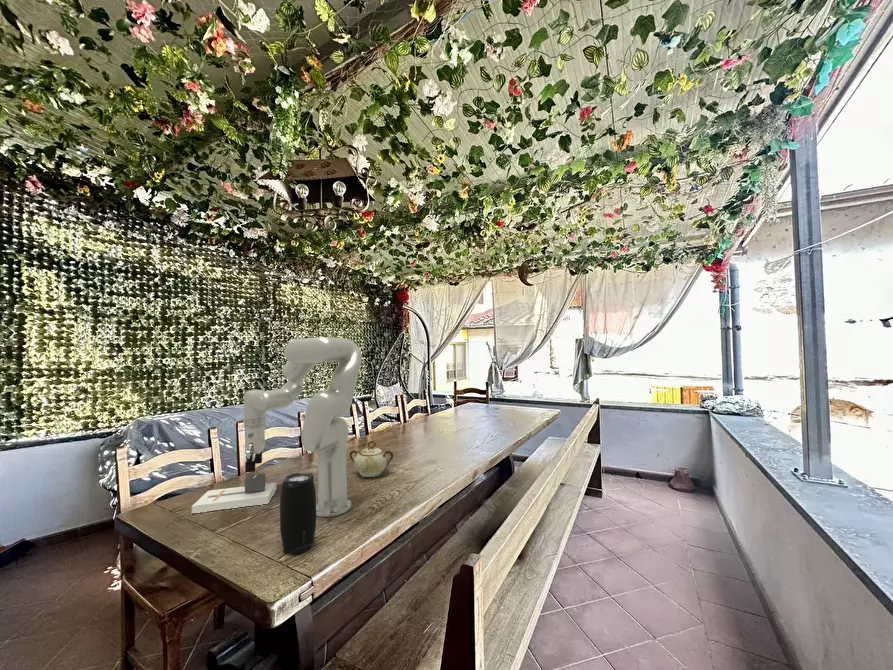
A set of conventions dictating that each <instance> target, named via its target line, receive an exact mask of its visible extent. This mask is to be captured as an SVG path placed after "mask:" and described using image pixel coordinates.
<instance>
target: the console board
mask: <svg viewBox="0 0 893 670" xmlns="http://www.w3.org/2000/svg"><path fill="white" fill-rule="evenodd" d="M275 491H277V482H269V483H268V482H267V483H265V488H264V489H263V491H256V492H248V493H245V485H244V486H238V487H237V486H236V487H228V488H221V489H220V488H219V489H211V490H207V491H206V492H205V493H204V494H203V495H202V496H201V497H200V498H199V499H198V500H196V501H195V503H193V504H192V505H191V514H192V513H200V512H207V511H213V510H221V509H230V508H238V507H245V506H253V505H261V506H263V505H262V504H268V503H269V504H270V502H271V501H272V499H273V497H274V495H275V493H276V492H275ZM272 496H273V497H272ZM271 498H272V499H271ZM270 500H271V501H270ZM269 504H268V505H269Z"/></svg>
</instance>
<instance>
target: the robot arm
mask: <svg viewBox="0 0 893 670" xmlns="http://www.w3.org/2000/svg"><path fill="white" fill-rule="evenodd" d="M283 354H284V357H285V360H287V362H286V363H285V364H283V366H282V369H281V371H282V375H283V377H285V378H286V379H287V380H288V381H287V382H286V383H285V384H284V385H283V387H281V388H277V389H270V390H263V389H249V390H247V391H245V392H244V395H243V397H244V398H243V428H244V429H245V434H244V435H245V436H244V437H245V439H244V454H245V460H244V461H245V462H244V463H245V465H244V466H245V467H244V468H245V469H244V471H245V473H254V472H255V471H256V465H257V464H262V462H263V451H264V449H265V447H266V441H265V440H266V438H265V437H266V436H265V435H266V434H265V433H266V431H265V427H266V425H267V412H269V411H270V412H271V411H275V410H277V409H283V408H284V409H285V408H287V407H289V406H290V405H291V404H293V402H295V400H297V398H298V396H300V395H301V393H302V391H303V386H304V379H305V378H306V377H307V376H308V374H309V373H310V372H311V371H312V370H313V369H314V367H315V366H316V365H317V364H318V363H335V362H338V365H337V366H336V368H335V369H334V371H333V373H332V376H331V380H330V384H329V387H328V389H326V390H325V389H324V390H320V391H319V392H316V393H315V394H314V395H313V396H312V397H311V398H310V400H309V401H308V405H307V407H306V413H305V416H304V421H303V426H302V429H301V435H300V437H301V444H302V446H303V448H304V449H305V450H306V451H307V452H310V453H318V456H317V458H318V459H317V489H318V490H317V496H318V498H317V501H318V502H317V503H316V517H320V518H330V517H337V516H340V515H343V514H345V513H347V512H348V511H349V510H350V509H351V508H352V501H351V500H350V499H348V495H347V494H348V487H347V486H348V484H347V480H348V478H347V475H348V474H347V472H348V471H347V447H348V439H349V433H350V432H349V431H350V428H349V425H348V423H347V421H346V420H345V418H342V417H341V416H342V415H344V414H346V413H348V412H349V411H350V409H351V407H352V401H353V399H354V393H355V389H356V386H357V380H358V377H359V373H360V369H361V367H362V362H363V361H362V358H363V357H362V352H361V349H360V347H359V345H358V344H356V343H355V342H354V341H353V340H351V339H348V338H346V337H329V336H325V337H324V336H319V337H309V338H308V337H307V338H295V339H292V340H291V341H289V342H288V343H287V345H285V348H284V353H283Z"/></svg>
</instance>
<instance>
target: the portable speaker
mask: <svg viewBox="0 0 893 670" xmlns="http://www.w3.org/2000/svg"><path fill="white" fill-rule="evenodd" d="M316 505H317V493H316V487H315V482H314V474H313V473H312V472H309V473H304V472H303V473H301V472H294V473H290V474H288V475H286V476H285V478H284V479H283V481H282V487H281V493H280V501H279V522H280V523H279V524H280V525H279V526H280V527H279V529H280V530H279V531H280V538H281V544H282V548H283V553H287V552H290V553H293V555H296V556H298V555H302V554H304V553H306V552H308V551H309V550H310V549H311V546H312V545H313V543H314V542H315V534H316V525H317V515H316ZM301 553H302V554H301Z"/></svg>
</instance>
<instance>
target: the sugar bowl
mask: <svg viewBox="0 0 893 670" xmlns="http://www.w3.org/2000/svg"><path fill="white" fill-rule="evenodd" d="M371 443H373V446H370V445H371ZM376 445H377V444H376V441H374V440H370V441H368V443H367V447H366V448H364V449H361V450H355V449H353V450H352V451H350V452H349V458H350V460H351V461H352V463H353V465H354V466H355V470H356V471H357V472H358V473H359V474H360V476H361V477H362V478H364V477H374V478H376V477H375V476H377V477H379V476H381V475H382V473H383V472H384V470H385V469H386V468H387V467H388V465H389V464H390V462H391V461H392V460H393V458H394V454H393V451H391V450H386V451H385V450H384V449H382V448H378V447H377V446H376ZM352 454H355V456H354V458H353V456H352ZM387 454H389V455H390V458H389V457H388V455H387ZM380 474H381V475H380ZM378 475H379V476H378Z"/></svg>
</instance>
